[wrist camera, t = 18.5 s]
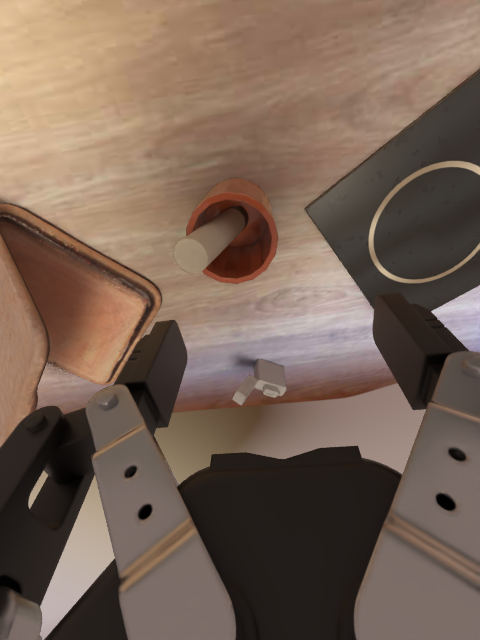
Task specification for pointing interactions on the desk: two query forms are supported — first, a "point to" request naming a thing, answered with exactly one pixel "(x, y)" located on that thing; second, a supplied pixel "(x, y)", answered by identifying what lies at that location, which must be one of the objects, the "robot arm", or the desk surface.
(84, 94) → the desk surface
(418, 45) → the desk surface
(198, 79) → the desk surface
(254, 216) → the pen cup
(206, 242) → the cylinder
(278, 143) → the desk surface
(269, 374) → the lighter
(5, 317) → the case
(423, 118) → the black flat square pad
